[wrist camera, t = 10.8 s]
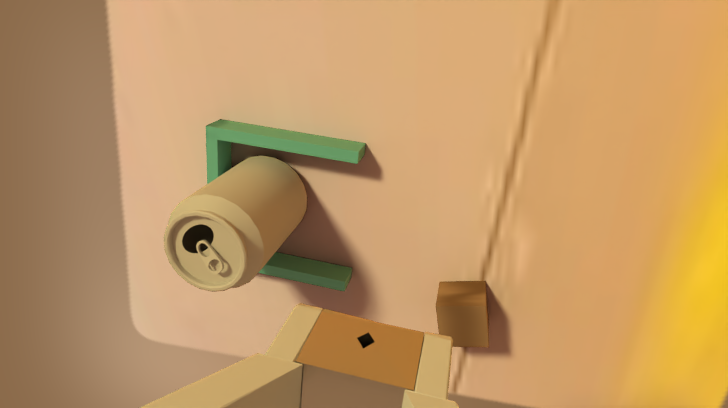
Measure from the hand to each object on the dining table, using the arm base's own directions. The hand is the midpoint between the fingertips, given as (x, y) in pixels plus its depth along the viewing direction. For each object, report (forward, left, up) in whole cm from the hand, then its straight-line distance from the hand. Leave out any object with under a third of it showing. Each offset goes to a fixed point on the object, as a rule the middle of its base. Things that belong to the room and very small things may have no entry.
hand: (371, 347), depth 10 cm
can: (+15, +11, -31) cm, 36 cm away
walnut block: (-4, +18, -31) cm, 37 cm away
